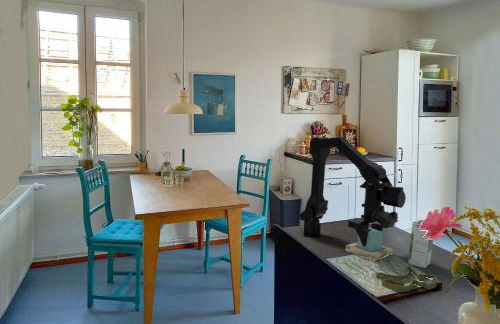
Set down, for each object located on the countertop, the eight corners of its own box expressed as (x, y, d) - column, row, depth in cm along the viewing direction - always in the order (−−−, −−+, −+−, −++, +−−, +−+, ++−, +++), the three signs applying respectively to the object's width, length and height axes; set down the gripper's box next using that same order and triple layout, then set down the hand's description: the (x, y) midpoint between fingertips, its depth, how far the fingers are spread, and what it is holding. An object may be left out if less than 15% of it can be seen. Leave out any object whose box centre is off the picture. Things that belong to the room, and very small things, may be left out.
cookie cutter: (412, 270, 121) (412, 264, 120) (445, 286, 110) (446, 280, 110) (369, 279, 113) (370, 273, 113) (401, 298, 102) (401, 291, 102)
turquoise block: (371, 254, 130) (372, 234, 129) (357, 248, 135) (358, 230, 134) (381, 251, 133) (383, 232, 132) (367, 245, 138) (369, 227, 137)
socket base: (372, 261, 126) (373, 254, 126) (342, 249, 137) (342, 242, 136) (395, 254, 134) (396, 247, 133) (365, 243, 144) (366, 236, 144)
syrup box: (412, 259, 129) (416, 218, 127) (431, 263, 126) (435, 221, 124) (407, 263, 125) (411, 221, 123) (426, 268, 121) (430, 225, 119)
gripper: (375, 210, 120) (372, 257, 122) (409, 203, 131) (405, 246, 133) (348, 203, 129) (345, 246, 131) (381, 197, 140) (378, 237, 142)
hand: (369, 244), depth 134 cm, fingers closed on turquoise block, 6 cm apart
